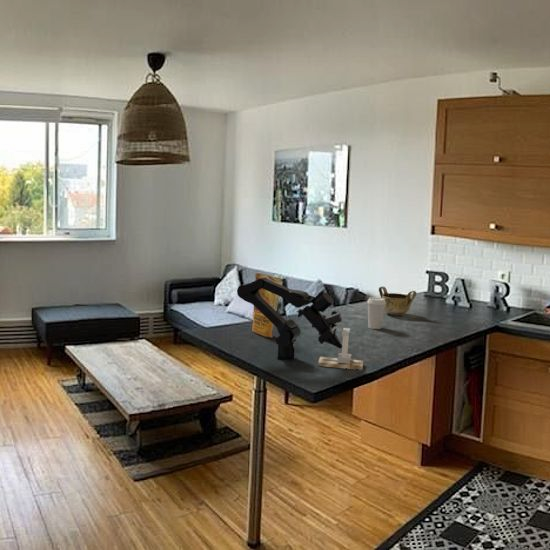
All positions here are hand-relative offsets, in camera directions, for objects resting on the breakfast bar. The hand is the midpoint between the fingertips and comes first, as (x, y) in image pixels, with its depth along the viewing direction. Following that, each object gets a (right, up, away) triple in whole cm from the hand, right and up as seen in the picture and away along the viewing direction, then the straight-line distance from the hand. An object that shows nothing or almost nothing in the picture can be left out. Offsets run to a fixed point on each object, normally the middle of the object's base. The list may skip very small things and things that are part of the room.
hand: (341, 347), depth 244 cm
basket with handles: (+41, +6, +103) cm, 111 cm away
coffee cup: (+24, +2, +69) cm, 73 cm away
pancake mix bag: (-32, +1, +46) cm, 56 cm away
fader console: (0, -7, +1) cm, 7 cm away
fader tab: (+1, -5, +1) cm, 5 cm away
